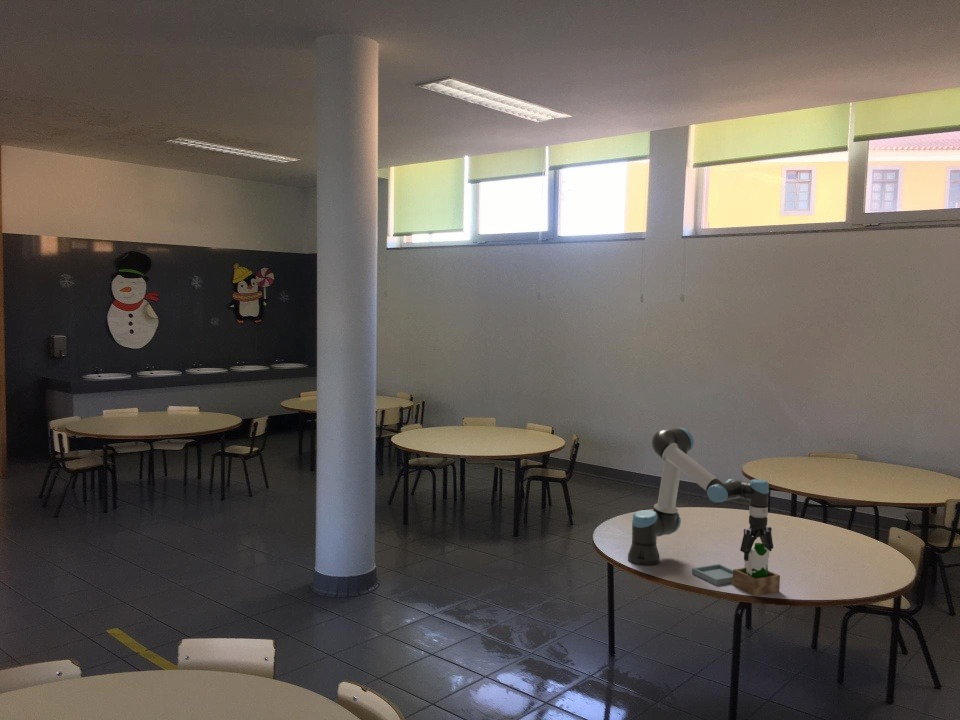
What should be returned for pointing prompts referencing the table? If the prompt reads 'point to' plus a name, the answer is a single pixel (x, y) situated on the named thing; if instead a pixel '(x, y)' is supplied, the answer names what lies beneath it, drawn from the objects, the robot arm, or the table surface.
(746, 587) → the holder
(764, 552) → the soya milk
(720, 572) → the tray
